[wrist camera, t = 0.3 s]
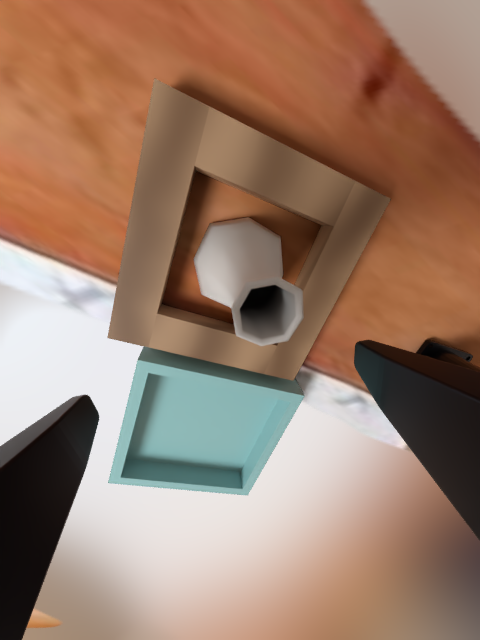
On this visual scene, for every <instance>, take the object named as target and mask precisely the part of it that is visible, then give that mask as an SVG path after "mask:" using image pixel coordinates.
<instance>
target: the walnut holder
mask: <svg viewBox="0 0 480 640" xmlns="http://www.w3.org/2000/svg"><path fill="white" fill-rule="evenodd" d="M196 171H197V172H199V173H202V174H204V175H206V176H209V177H211V178H213V179H216V180H218V181H220V182H223V183H225V184H227V185H230V186H232V187H234V188H236V189H239V190H241V191H243V192H246V193H248V194H250V195H253V196H255V197H257V198H260V199H262V200H264V201H266V202H269V203H271V204H273V205H276V206H278V207H280V208H283V209H285V210H287V211H290V212H292V213H294V214H297V215H299V216H301V217H303V218H306V219H308V220H310V221H313V222H315V223H317V224H320V225H321V228H320V230H319V232H318V234H317V236H316V239H315V241H314V243H313V245H312V247H311V250H310V252H309V254H308V256H307V258H306V260H305V263H304V265H303V267H302V269H301V271H300V274H299V276H298V278H297V280H296V282H295V284H294V285H295V286H296V287H298V288H300V289H302V291H303V315H304V318H303V320H302V321H301V323H300V324H299V326H298V327H297V329H296V330H295V332H294V333H293V335H292V336H291V338H290V339H289V341H286V342H280V343H275V344H270V345H265V346H259V345H257V344H254V343H252V342H250V341H247V340H245V339H242V338H240V337H238V336H236V333H235V327H234V324H231V323H227V322H224V321H220V320H216V319H213V318H209V317H206V316H202V315H198V314H195V313H191V312H188V311H184V310H181V309H177V308H173V307H170V306H166V305H163V304H162V300H163V297H164V293H165V289H166V285H167V281H168V277H169V273H170V269H171V265H172V262H173V258H174V254H175V250H176V246H177V242H178V238H179V234H180V230H181V227H182V223H183V219H184V215H185V211H186V207H187V203H188V199H189V196H190V192H191V188H192V184H193V180H194V176H195V172H196ZM390 200H391V199H390V198H388V197H386V196H384V195H382V194H380V193H378V192H376V191H374V190H372V189H370V188H369V187H367V186H365V185H363V184H361V183H359V182H357V181H355V180H353V179H351V178H349V177H347V176H345V175H343V174H341V173H339V172H337V171H335V170H333V169H331V168H329V167H327V166H325V165H323V164H321V163H319V162H318V161H316V160H314V159H312V158H310V157H308V156H306V155H304V154H302V153H300V152H298V151H296V150H294V149H292V148H290V147H288V146H286V145H284V144H282V143H280V142H278V141H276V140H274V139H272V138H270V137H268V136H267V135H265V134H263V133H261V132H259V131H257V130H255V129H253V128H251V127H249V126H247V125H245V124H243V123H241V122H239V121H237V120H235V119H233V118H231V117H229V116H227V115H225V114H223V113H221V112H219V111H217V110H216V109H214V108H212V107H210V106H208V105H206V104H204V103H202V102H200V101H198V100H196V99H194V98H192V97H190V96H188V95H186V94H184V93H182V92H180V91H178V90H176V89H174V88H172V87H170V86H168V85H166V84H165V83H163V82H161V81H159V80H157V79H155V78H154V83H153V88H152V94H151V99H150V105H149V111H148V116H147V122H146V127H145V133H144V138H143V144H142V149H141V155H140V161H139V166H138V172H137V177H136V183H135V188H134V194H133V199H132V205H131V211H130V216H129V222H128V227H127V233H126V238H125V244H124V249H123V255H122V261H121V266H120V272H119V277H118V283H117V288H116V294H115V299H114V305H113V311H112V316H111V322H110V327H109V333H108V338H110V339H114V340H119V341H123V342H127V343H132V344H136V345H140V346H145V347H149V348H153V349H158V350H162V351H166V352H171V353H175V354H179V355H184V356H188V357H192V358H197V359H201V360H205V361H210V362H214V363H218V364H223V365H227V366H231V367H236V368H240V369H244V370H249V371H253V372H257V373H262V374H266V375H270V376H275V377H279V378H283V379H288V380H292V381H294V379H295V377H296V375H297V373H298V371H299V369H300V367H301V366H302V364H303V362H304V360H305V358H306V356H307V354H308V353H309V351H310V349H311V347H312V345H313V343H314V341H315V340H316V338H317V336H318V334H319V332H320V330H321V328H322V326H323V325H324V323H325V321H326V319H327V317H328V315H329V313H330V312H331V310H332V308H333V306H334V304H335V302H336V300H337V299H338V297H339V295H340V293H341V291H342V289H343V287H344V285H345V284H346V282H347V280H348V278H349V276H350V274H351V272H352V271H353V269H354V267H355V265H356V263H357V261H358V259H359V258H360V256H361V254H362V252H363V250H364V248H365V246H366V245H367V243H368V241H369V239H370V237H371V235H372V233H373V231H374V230H375V228H376V226H377V224H378V222H379V220H380V218H381V217H382V215H383V213H384V211H385V209H386V207H387V205H388V204H389V202H390Z"/></svg>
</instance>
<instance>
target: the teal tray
mask: <svg viewBox="0 0 480 640" xmlns="http://www.w3.org/2000/svg"><path fill="white" fill-rule="evenodd" d="M303 398H304V394H303V392H302V390H301V388H300V386H299V384H298V383H297V381H296V379H294V381H292V380H288V379H283V378H279V377H275V376H270V375H266V374H262V373H257V372H253V371H249V370H244V369H240V368H236V367H231V366H227V365H223V364H218V363H214V362H210V361H205V360H201V359H197V358H192V357H188V356H184V355H179V354H175V353H171V352H166V351H162V350H158V349H153V348H149V347H145V346H144V347H143V350H142V352H141V354H140V356H139V358H138V361H137V365H136V370H135V373H134V377H133V382H132V386H131V390H130V394H129V398H128V403H127V407H126V411H125V415H124V419H123V423H122V427H121V431H120V436H119V440H118V444H117V448H116V452H115V457H114V461H113V465H112V469H111V473H110V477H109V481H108V483H114V484H125V485H136V486H147V487H158V488H170V489H181V490H192V491H203V492H215V493H226V494H237V495H248V494H249V492H250V490H251V489H252V487H253V485H254V483H255V482H256V480H257V478H258V476H259V475H260V473H261V471H262V469H263V468H264V466H265V464H266V462H267V460H268V459H269V457H270V455H271V454H272V452H273V450H274V448H275V447H276V445H277V443H278V441H279V440H280V438H281V436H282V434H283V433H284V431H285V429H286V428H287V426H288V424H289V422H290V420H291V419H292V417H293V415H294V414H295V412H296V410H297V408H298V406H299V405H300V403H301V401H302V400H303Z"/></svg>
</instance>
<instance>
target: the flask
mask: <svg viewBox="0 0 480 640" xmlns="http://www.w3.org/2000/svg"><path fill="white" fill-rule="evenodd" d="M193 260H194V264H195V268H196V273H197V277H198V282H199V286H200V290H201V295H204V296H206V297H208V298H210V299H212V300H215V301H217V302H219V303H221V304H223V305H226V306H228V307H230V308H231V310H232V316H233V321H234V327H235V333H236V336H238V337H240V338H242V339H245V340H247V341H250V342H252V343H254V344H257V345H259V346H265V345H270V344H275V343H280V342H286V341H289V339H290V338H291V336H292V335H293V333H294V332H295V330H296V329H297V327H298V326H299V324H300V323H301V321H302V320H303V318H304V315H303V291H302V289H300V288H298V287H296V286H295V285H293V284H291V283H289V282H287V281H285V280H283V279H282V277H283V263H282V249H281V236H279V235H277V234H276V233H274V232H272V231H271V230H269V229H267V228H266V227H264V226H262V225H261V224H259V223H257V222H256V221H254V220H252V219H251V218H249V217H246V218H240V219H234V220H228V221H222V222H216V223H210V224H209V226H208V228H207V231H206V233H205V235H204V237H203V239H202V242H201V244H200V246H199V248H198V250H197V252H196V255H195V257H194V259H193Z"/></svg>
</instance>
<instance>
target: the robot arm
mask: <svg viewBox="0 0 480 640" xmlns="http://www.w3.org/2000/svg"><path fill="white" fill-rule="evenodd" d="M472 357H473V356H472V355H471V354H469V353H467V352H464V351H461V350H458V349H455V348H452V347H449V346H446V345H443V344H440V343H437V342H434V341H431V340H427V341H426V342H425V343H424V344H423V345H422V347H421V348H420V349H419V351H418V352H417V353H413V352H409V351H406V350H403V349H399V348H396V347H392V346H389V345H386V344H382V343H379V342H375V341H372V340H364V341H359V342H357V343H356V345H355V356H354V364H355V368H356V370H357V371H358V373H359V375H360V376H361V378H362V380H363V381H364V383H365V385H366V386H367V388H368V390H369V391H370V393H371V395H372V396H373V398H374V400H375V401H376V403H377V404H378V406H379V407H380V409H381V410H382V412H383V413H384V414H385V416H386V417H387V418H388V420H389V421H390V422H391V424H392V425H393V426H394V428H395V429H396V430H397V432H398V433H399V434H400V436H401V437H402V438H403V440H404V441H405V442H406V444H407V445H408V446H409V448H410V449H411V450H412V452H413V453H414V454H415V456H416V457H417V458H418V459H419V461H420V462H421V463H422V465H423V466H424V467H425V469H426V470H427V471H428V473H429V474H430V475H431V477H432V478H433V479H434V481H435V482H436V483H437V485H438V486H439V487H440V489H441V490H442V491H443V493H444V494H445V495H446V496H447V498H448V499H449V501H450V502H451V503H452V504H453V506H454V507H455V509H456V510H457V511H458V513H459V514H460V515H461V517H462V518H463V519H464V521H465V522H466V523H467V525H468V526H469V527H470V529H471V530H472V531H473V532H474V534H475V535H476V536H477V538H478V539H479V540H480V368H479V367H477V366H475V365H473V364H472V363H470V361H471V359H472ZM98 421H99V414H98V411H97V410H96V407H95V406H94V404H93V402H92V400H91V398H90V397H89V396H88V395H81V396H76V397H72V398H71V399H69V400H68V401H66V402H65V403H63V404H62V405H60V406H59V407H57V408H56V409H55V410H53V411H52V412H50V413H49V414H47V415H46V416H44V417H43V418H41V419H40V420H38V421H37V422H35V423H34V424H32V425H31V426H30V427H28V428H26V429H25V430H24V431H22V432H21V433H19V434H18V435H16V436H15V437H13V438H12V439H10V440H9V441H7V442H6V443H5V444H3V445H2V446H0V640H22V638H23V635H24V632H25V630H26V627H27V625H28V622H29V619H30V617H31V614H32V611H33V609H34V606H35V603H36V601H37V598H38V595H39V593H40V590H41V587H42V585H43V582H44V579H45V577H46V574H47V571H48V568H49V566H50V563H51V560H52V557H53V555H54V552H55V550H56V547H57V544H58V541H59V539H60V536H61V534H62V531H63V528H64V526H65V523H66V520H67V518H68V515H69V512H70V509H71V507H72V504H73V501H74V499H75V496H76V493H77V491H78V488H79V485H80V483H81V480H82V477H83V474H84V472H85V469H86V466H87V462H88V459H89V455H90V451H91V448H92V444H93V440H94V436H95V433H96V429H97V425H98Z"/></svg>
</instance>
